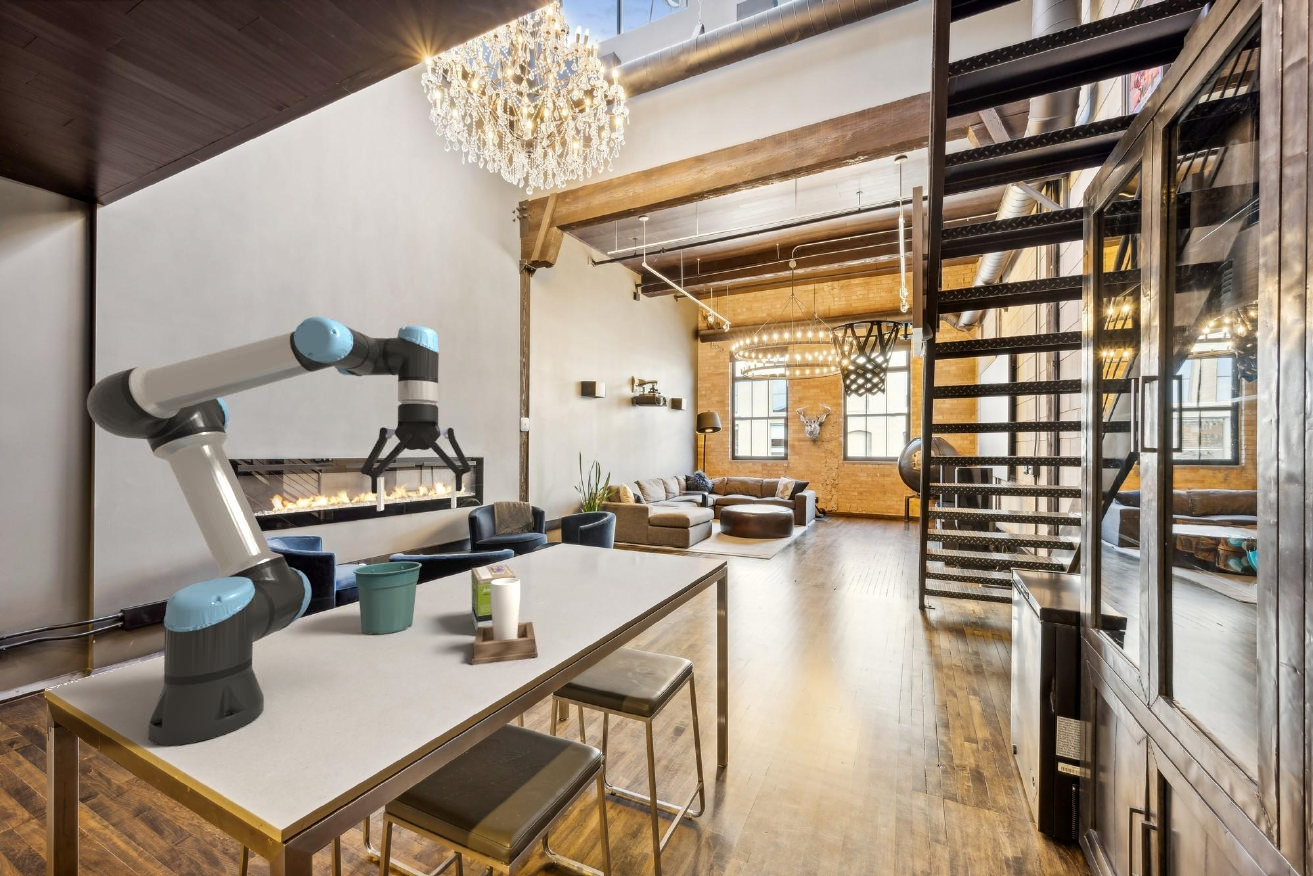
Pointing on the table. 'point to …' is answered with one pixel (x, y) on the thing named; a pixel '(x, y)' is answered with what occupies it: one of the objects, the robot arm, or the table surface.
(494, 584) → the drinking glass
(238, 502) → the robot arm
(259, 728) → the table surface
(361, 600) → the flower pot
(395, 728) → the table surface
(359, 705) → the table surface
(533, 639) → the walnut dock
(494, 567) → the tea box
